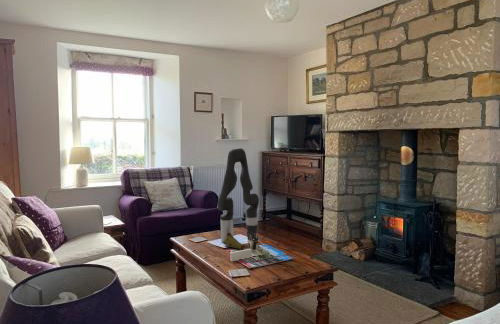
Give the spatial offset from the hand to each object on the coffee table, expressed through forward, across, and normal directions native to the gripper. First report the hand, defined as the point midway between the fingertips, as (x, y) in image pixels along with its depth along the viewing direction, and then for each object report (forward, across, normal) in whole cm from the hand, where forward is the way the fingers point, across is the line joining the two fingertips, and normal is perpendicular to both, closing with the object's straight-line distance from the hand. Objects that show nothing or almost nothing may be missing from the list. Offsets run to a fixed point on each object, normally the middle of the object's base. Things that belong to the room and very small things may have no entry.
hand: (252, 248), depth 240 cm
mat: (+3, 0, 0) cm, 3 cm away
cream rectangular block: (+3, +8, -12) cm, 15 cm away
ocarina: (+3, -16, -8) cm, 18 cm away
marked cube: (+1, 0, 0) cm, 1 cm away
